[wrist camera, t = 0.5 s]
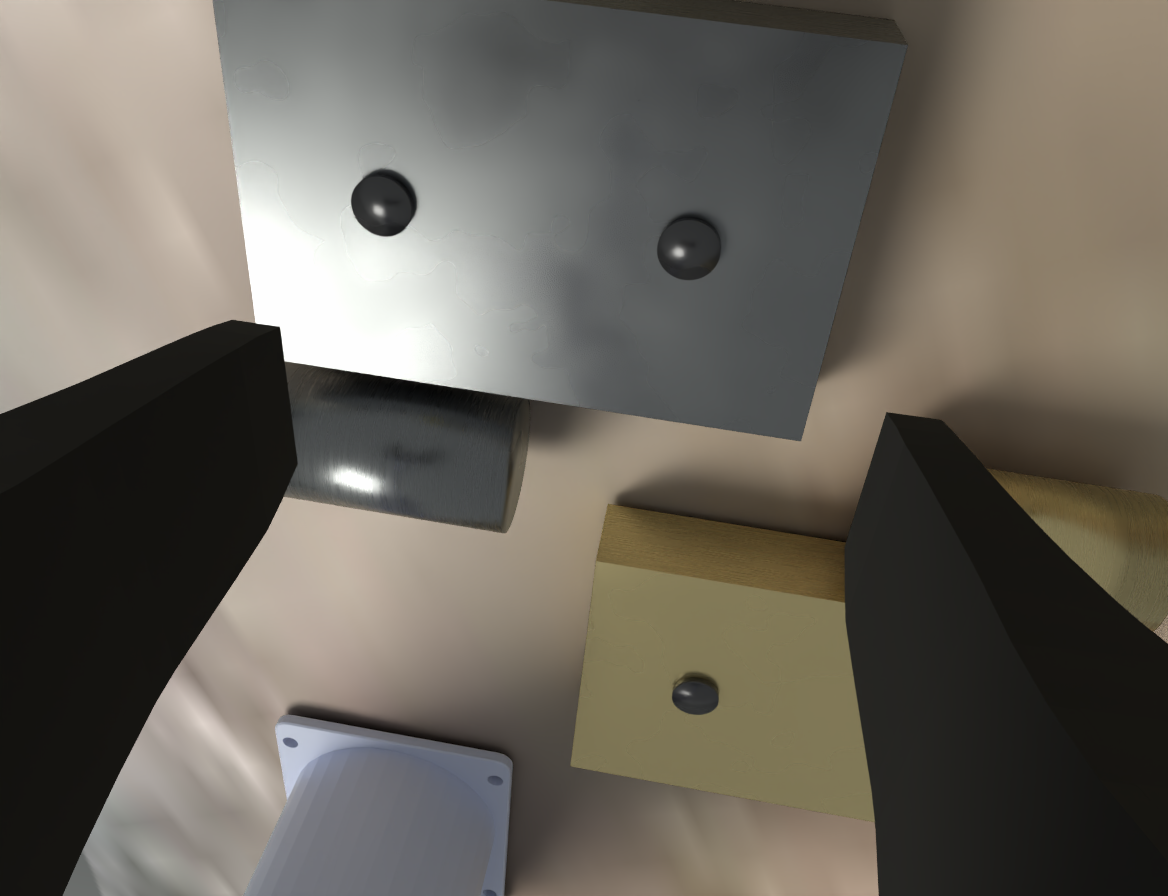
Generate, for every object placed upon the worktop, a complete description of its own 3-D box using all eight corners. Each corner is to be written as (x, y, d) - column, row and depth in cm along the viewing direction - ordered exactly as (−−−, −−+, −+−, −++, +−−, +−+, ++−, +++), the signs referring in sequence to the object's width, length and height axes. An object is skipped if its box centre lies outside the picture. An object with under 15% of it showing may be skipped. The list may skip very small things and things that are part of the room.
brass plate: (1201, 473, 21) (1262, 570, 19) (1017, 783, 28) (1044, 885, 25) (623, 385, 22) (605, 464, 20) (582, 705, 29) (564, 796, 26)
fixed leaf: (893, 20, 17) (920, 66, 14) (766, 512, 24) (767, 607, 21) (201, -64, 18) (101, -38, 15) (268, 432, 25) (207, 513, 22)
